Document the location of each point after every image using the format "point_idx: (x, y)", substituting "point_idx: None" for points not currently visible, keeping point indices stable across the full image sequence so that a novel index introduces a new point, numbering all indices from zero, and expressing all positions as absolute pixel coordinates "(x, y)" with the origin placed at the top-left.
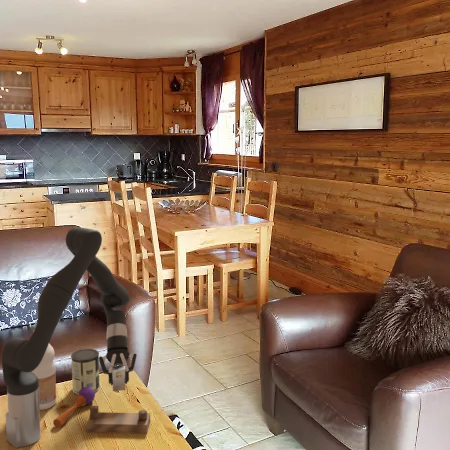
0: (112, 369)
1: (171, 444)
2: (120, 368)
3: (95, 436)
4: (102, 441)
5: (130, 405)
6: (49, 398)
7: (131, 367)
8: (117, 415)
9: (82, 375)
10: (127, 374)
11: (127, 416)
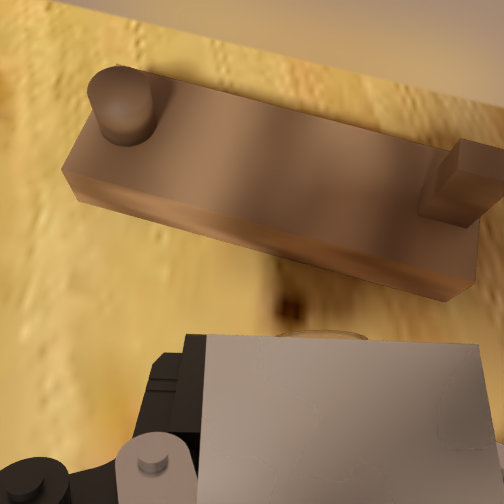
0: (482, 383)
1: (35, 2)
2: (306, 391)
3: None
4: (362, 99)
5: None
6: None
7: (36, 484)
8: (290, 197)
9: None
10: (161, 416)
11: (223, 171)
